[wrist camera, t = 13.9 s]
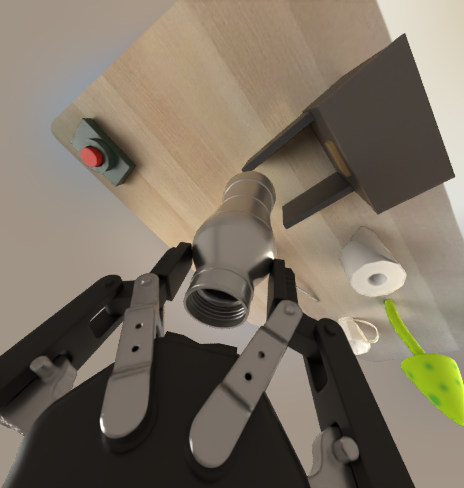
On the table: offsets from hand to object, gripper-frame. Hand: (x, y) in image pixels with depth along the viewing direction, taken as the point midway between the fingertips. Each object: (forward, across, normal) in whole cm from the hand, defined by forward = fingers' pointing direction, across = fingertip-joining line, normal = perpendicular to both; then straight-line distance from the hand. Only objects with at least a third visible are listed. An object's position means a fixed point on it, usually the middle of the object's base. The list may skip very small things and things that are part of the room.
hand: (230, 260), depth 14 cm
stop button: (+27, +35, +1) cm, 44 cm away
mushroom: (+30, -39, +29) cm, 57 cm away
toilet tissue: (+30, -26, +15) cm, 43 cm away
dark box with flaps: (+31, -9, -3) cm, 32 cm away
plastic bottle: (+16, 0, 0) cm, 16 cm away
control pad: (+31, +35, +1) cm, 47 cm away
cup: (+30, -34, +39) cm, 60 cm away
